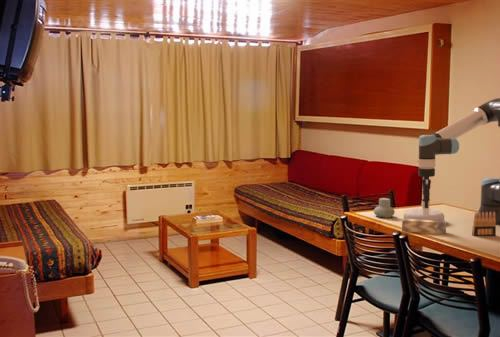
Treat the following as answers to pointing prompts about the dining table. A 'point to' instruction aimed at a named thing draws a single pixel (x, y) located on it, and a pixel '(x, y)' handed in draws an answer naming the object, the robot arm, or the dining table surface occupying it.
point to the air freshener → (384, 208)
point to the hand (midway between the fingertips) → (425, 211)
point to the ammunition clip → (484, 225)
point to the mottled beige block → (424, 226)
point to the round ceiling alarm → (419, 215)
